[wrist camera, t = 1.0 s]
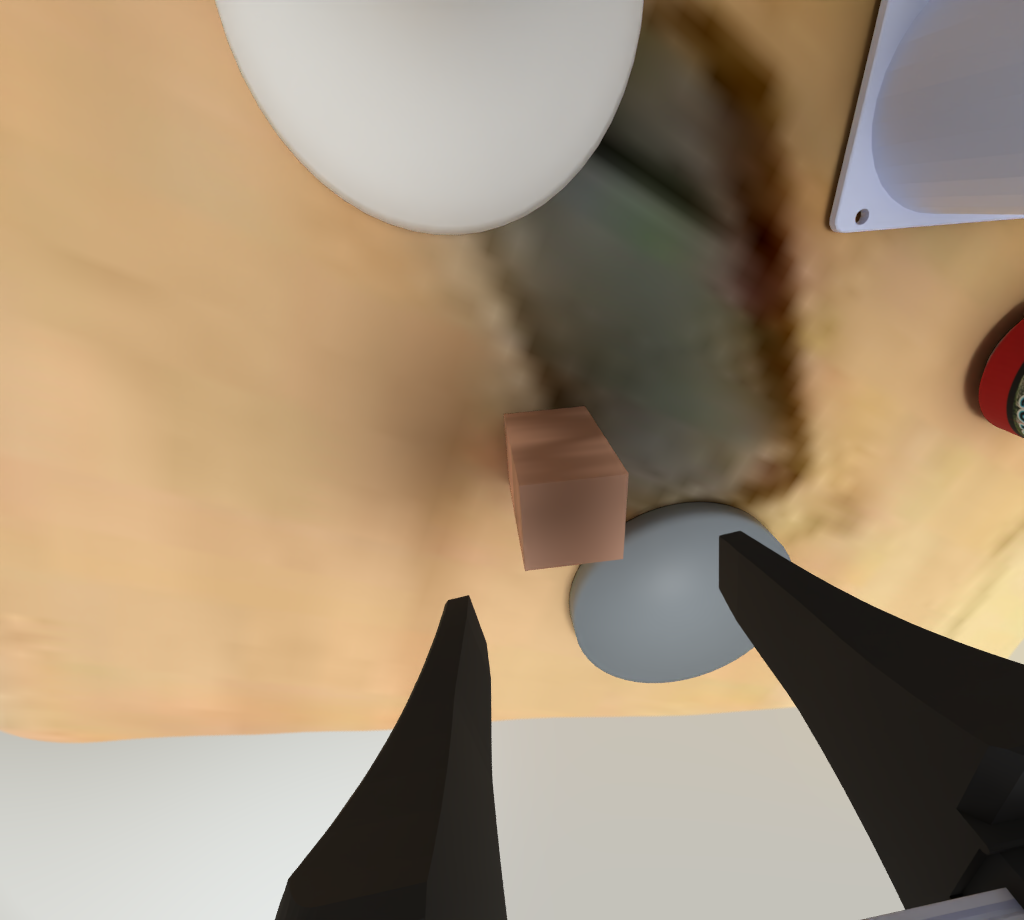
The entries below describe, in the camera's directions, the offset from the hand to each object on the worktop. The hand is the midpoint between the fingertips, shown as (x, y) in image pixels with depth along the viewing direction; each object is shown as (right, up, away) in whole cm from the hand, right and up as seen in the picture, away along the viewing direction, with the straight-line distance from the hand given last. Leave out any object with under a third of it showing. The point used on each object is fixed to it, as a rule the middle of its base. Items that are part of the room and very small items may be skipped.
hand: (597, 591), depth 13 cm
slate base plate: (+7, -4, +13) cm, 15 cm away
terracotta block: (-1, +4, +8) cm, 9 cm away
